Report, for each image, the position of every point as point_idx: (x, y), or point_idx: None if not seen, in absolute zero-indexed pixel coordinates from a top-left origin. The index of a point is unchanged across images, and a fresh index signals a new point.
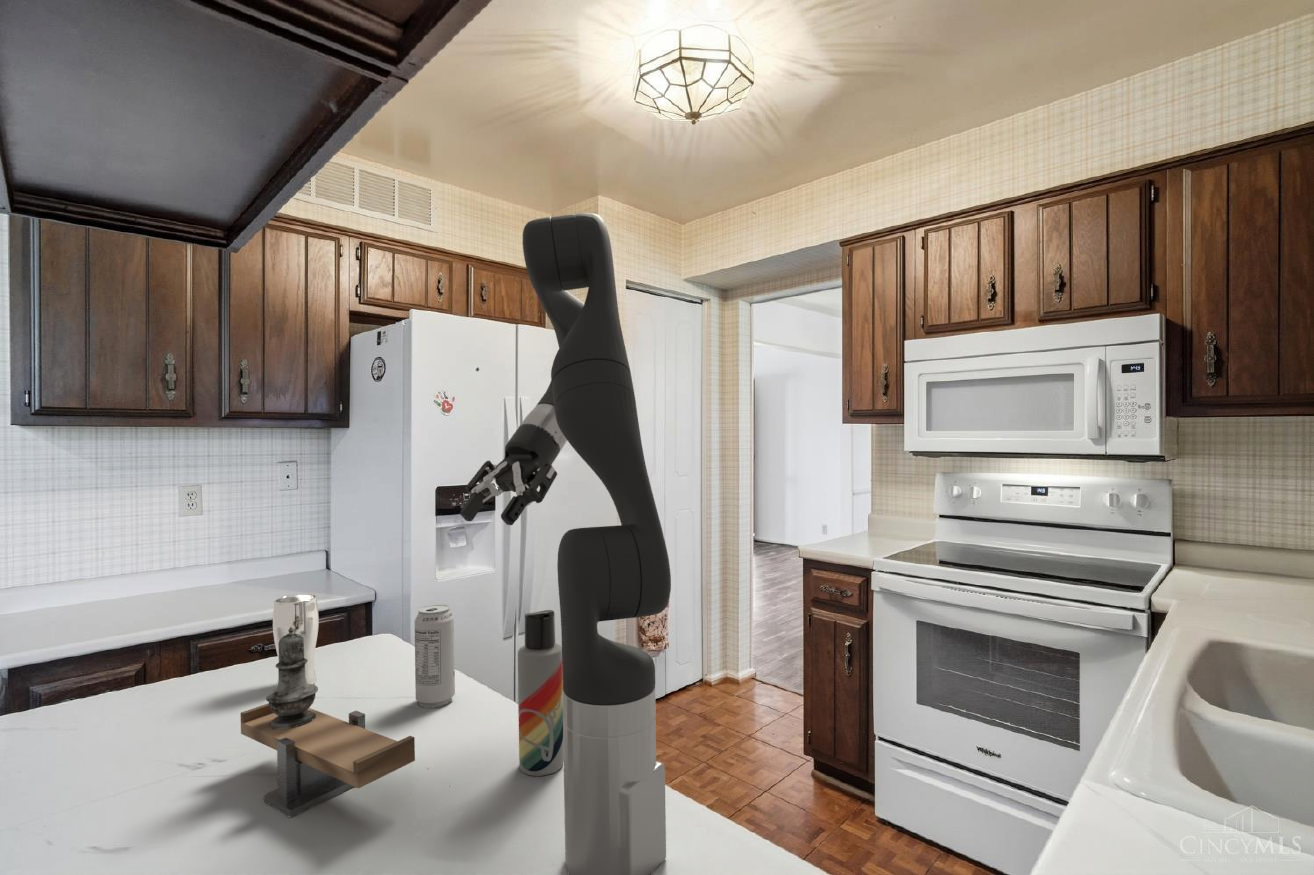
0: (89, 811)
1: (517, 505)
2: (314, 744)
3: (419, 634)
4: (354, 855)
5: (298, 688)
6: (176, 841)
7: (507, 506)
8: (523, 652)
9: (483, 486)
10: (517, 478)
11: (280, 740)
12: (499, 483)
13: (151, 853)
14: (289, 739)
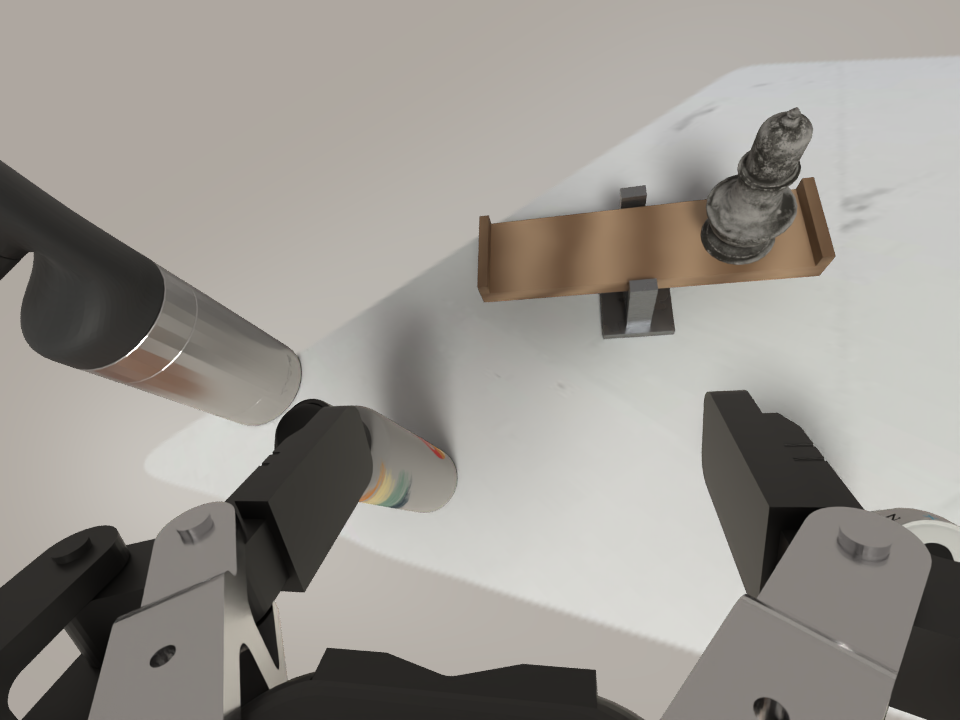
0: (811, 110)
1: (252, 478)
2: (612, 224)
3: (878, 510)
4: (475, 251)
5: (728, 199)
6: (651, 158)
7: (311, 441)
8: (359, 410)
9: (765, 594)
10: (164, 627)
11: (641, 187)
12: (533, 671)
13: (647, 141)
14: (635, 196)
